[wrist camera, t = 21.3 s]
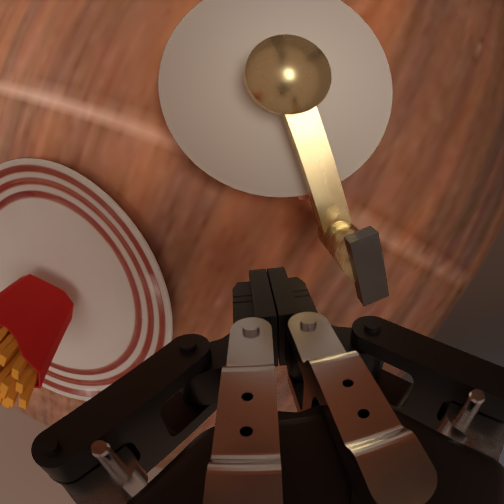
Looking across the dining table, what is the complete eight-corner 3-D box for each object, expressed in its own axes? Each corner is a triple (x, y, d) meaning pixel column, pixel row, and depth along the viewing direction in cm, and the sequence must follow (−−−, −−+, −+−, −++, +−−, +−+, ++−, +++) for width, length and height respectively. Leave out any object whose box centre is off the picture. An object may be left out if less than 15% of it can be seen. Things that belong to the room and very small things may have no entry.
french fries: (83, 298, 24) (20, 395, 13) (78, 330, 25) (26, 425, 14) (11, 262, 22) (-68, 333, 11) (10, 295, 23) (-56, 369, 12)
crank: (232, 56, 17) (233, 23, 10) (305, 36, 16) (337, 1, 10) (308, 266, 22) (335, 317, 16) (370, 243, 22) (413, 284, 16)
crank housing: (149, 29, 19) (135, 13, 15) (339, -9, 18) (356, -27, 14) (204, 214, 25) (199, 230, 21) (386, 167, 24) (410, 175, 21)
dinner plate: (-5, 353, 30) (-16, 367, 27) (-39, 154, 20) (-58, 159, 17) (173, 402, 34) (170, 422, 31) (193, 167, 24) (188, 172, 21)
